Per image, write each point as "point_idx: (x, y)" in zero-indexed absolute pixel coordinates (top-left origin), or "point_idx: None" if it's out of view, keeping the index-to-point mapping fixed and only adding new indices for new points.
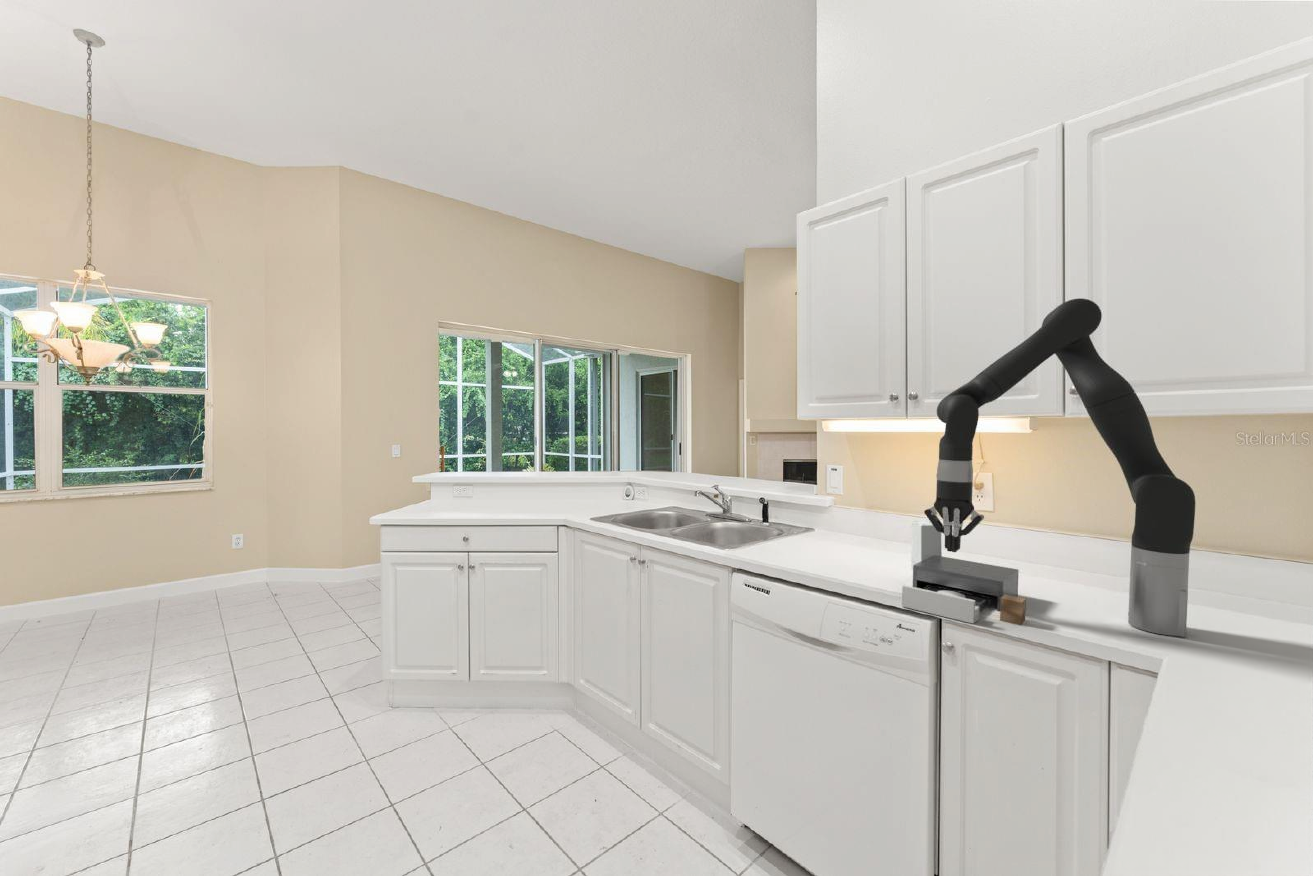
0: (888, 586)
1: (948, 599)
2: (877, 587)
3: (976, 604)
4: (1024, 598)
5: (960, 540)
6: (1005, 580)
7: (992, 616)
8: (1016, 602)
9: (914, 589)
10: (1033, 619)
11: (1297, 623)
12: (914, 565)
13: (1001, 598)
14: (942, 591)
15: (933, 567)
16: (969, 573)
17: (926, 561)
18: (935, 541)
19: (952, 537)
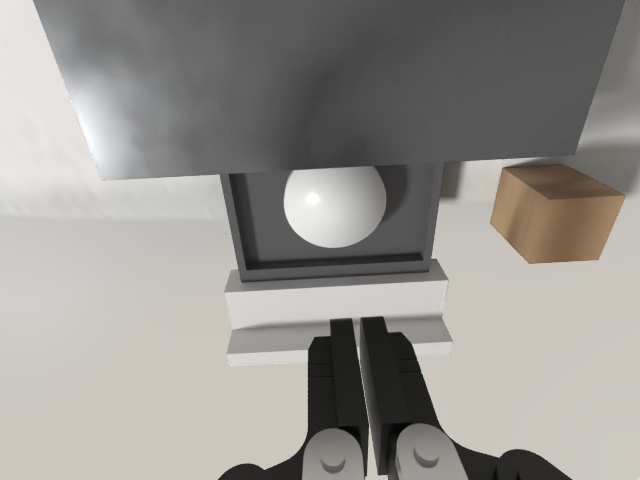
0: (52, 134)
1: None
2: (47, 186)
3: (417, 164)
4: (620, 199)
5: (428, 395)
6: (590, 104)
7: (467, 198)
8: (578, 259)
9: (269, 362)
10: (596, 120)
11: None
12: (108, 179)
13: (531, 263)
14: (297, 193)
15: (197, 138)
16: (398, 110)
17: None
18: None
19: (380, 467)
